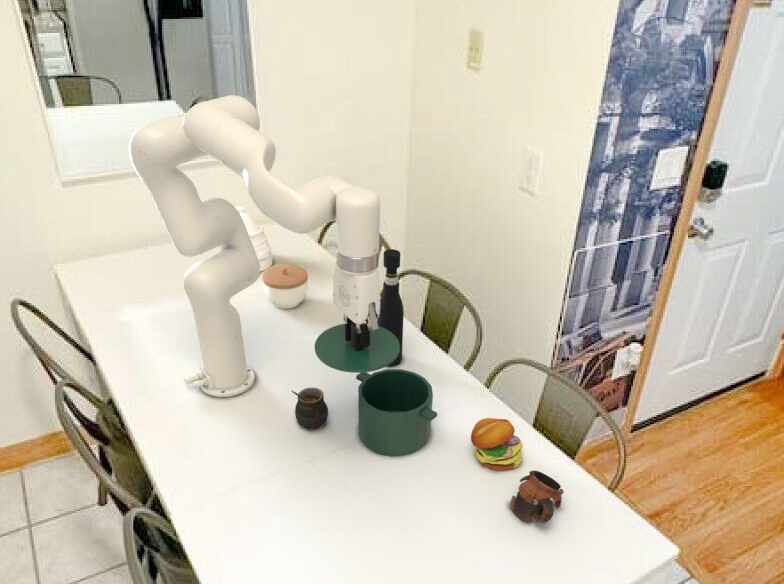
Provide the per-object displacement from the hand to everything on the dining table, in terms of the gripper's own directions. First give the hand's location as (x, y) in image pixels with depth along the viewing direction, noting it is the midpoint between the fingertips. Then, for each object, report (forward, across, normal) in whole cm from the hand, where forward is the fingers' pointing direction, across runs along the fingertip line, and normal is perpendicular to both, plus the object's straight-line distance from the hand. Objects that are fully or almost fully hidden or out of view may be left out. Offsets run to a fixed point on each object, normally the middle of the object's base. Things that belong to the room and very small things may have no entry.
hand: (357, 342), depth 125 cm
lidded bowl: (+26, -60, +13) cm, 66 cm away
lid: (+1, 0, 0) cm, 1 cm away
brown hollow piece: (+24, +37, +18) cm, 48 cm away
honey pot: (+26, -88, +14) cm, 93 cm away
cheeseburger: (+25, +21, +22) cm, 39 cm away
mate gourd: (+25, -9, -6) cm, 27 cm away
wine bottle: (+25, -21, +22) cm, 39 cm away
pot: (+25, +3, +8) cm, 26 cm away
